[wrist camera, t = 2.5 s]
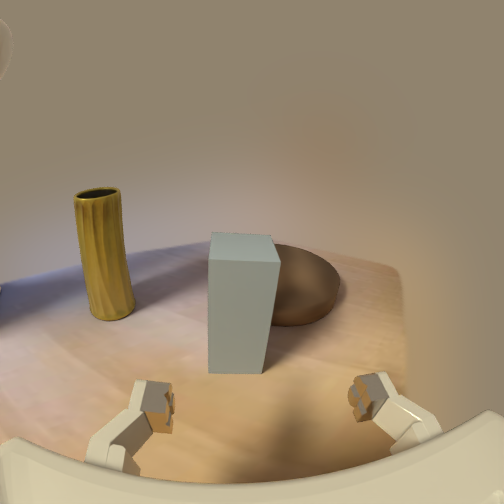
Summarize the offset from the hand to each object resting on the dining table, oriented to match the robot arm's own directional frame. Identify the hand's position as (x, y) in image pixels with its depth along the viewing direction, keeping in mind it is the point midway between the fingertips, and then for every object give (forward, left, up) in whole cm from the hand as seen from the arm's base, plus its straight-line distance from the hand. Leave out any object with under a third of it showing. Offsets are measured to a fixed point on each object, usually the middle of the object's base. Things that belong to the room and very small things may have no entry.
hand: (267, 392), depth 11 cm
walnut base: (+1, +26, -11) cm, 28 cm away
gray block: (-3, +12, -11) cm, 16 cm away
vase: (-19, +16, -11) cm, 27 cm away
